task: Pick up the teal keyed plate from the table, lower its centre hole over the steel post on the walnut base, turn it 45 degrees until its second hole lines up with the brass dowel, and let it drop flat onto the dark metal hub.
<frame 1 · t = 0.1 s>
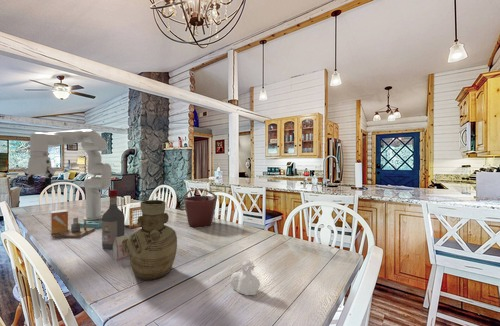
hand: (39, 184, 133), 31 cm above the table, tool pointing down, fingers open, 9 cm apart
bucket: (200, 224, 168), on the table
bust: (245, 290, 86), on the table
ceramic vessel: (152, 273, 97), on the table
liquor: (113, 246, 125), on the table
keyed plate: (90, 226, 157), on the table
small box: (59, 232, 147), on the table
post base: (75, 233, 143), on the table
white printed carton: (122, 257, 112), on the table
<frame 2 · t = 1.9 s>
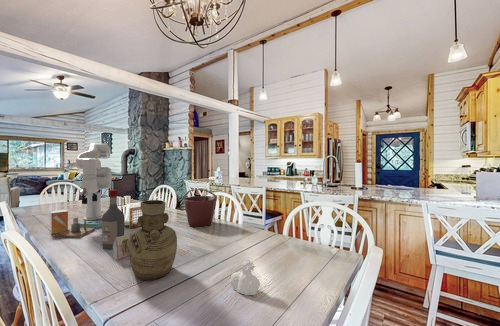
hand: (89, 202, 157), 17 cm above the table, tool pointing down, fingers open, 9 cm apart
nothing on the table moved.
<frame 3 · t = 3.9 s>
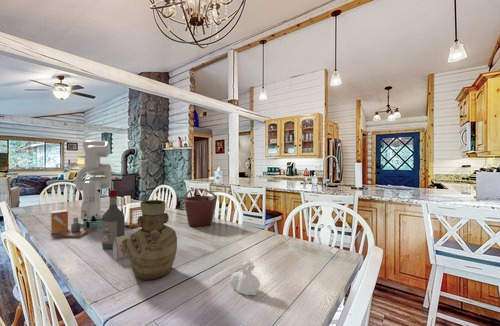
hand: (90, 225, 157), 1 cm above the table, tool pointing down, fingers closed on keyed plate, 6 cm apart
keyed plate: (90, 226, 157), on the table, touching gripper
everything else where it was.
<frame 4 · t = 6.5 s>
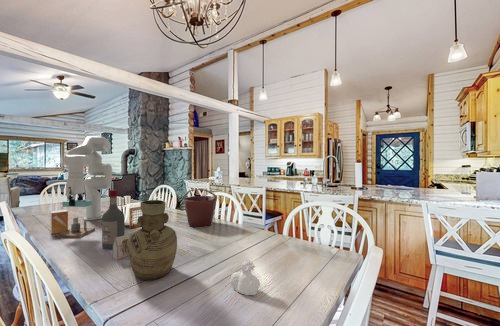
hand: (76, 204, 143), 18 cm above the table, tool pointing down, fingers closed on keyed plate, 6 cm apart
keyed plate: (76, 205, 143), point 17 cm above the table, touching gripper
everything else where it was.
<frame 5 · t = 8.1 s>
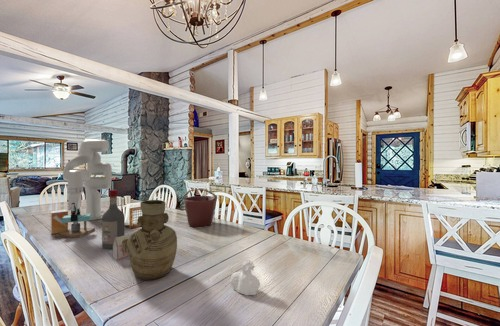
hand: (75, 219, 143), 9 cm above the table, tool pointing down, fingers closed on keyed plate, 6 cm apart
keyed plate: (75, 220, 143), point 8 cm above the table, touching gripper
everything else where it was.
when the fingers open (7 cm above the table, at t = 9.5 s): keyed plate stays where it is, resting on post base.
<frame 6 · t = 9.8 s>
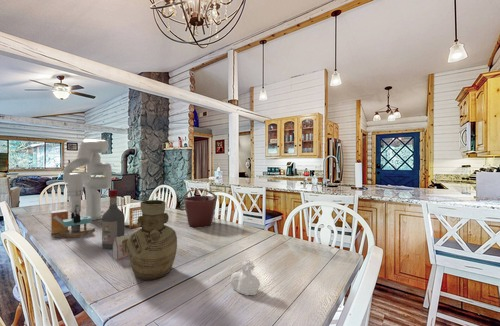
hand: (75, 221, 143), 8 cm above the table, tool pointing down, fingers open, 9 cm apart
keyed plate: (75, 224, 143), point 6 cm above the table, touching post base
everything else where it was.
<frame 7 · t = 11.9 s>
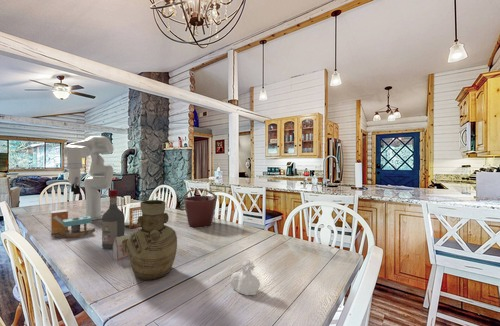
hand: (75, 192, 149), 24 cm above the table, tool pointing down, fingers open, 9 cm apart
nothing on the table moved.
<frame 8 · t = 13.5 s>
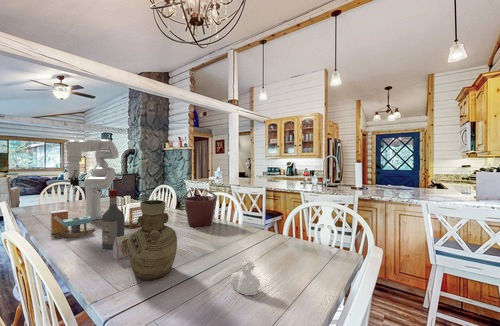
hand: (74, 185, 154), 28 cm above the table, tool pointing down, fingers open, 9 cm apart
nothing on the table moved.
at the end: keyed plate 0.1 cm off-centre on the post base, point 6.0 cm above the post base's base; keyed plate tilted 0°; the gripper is holding nothing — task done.
